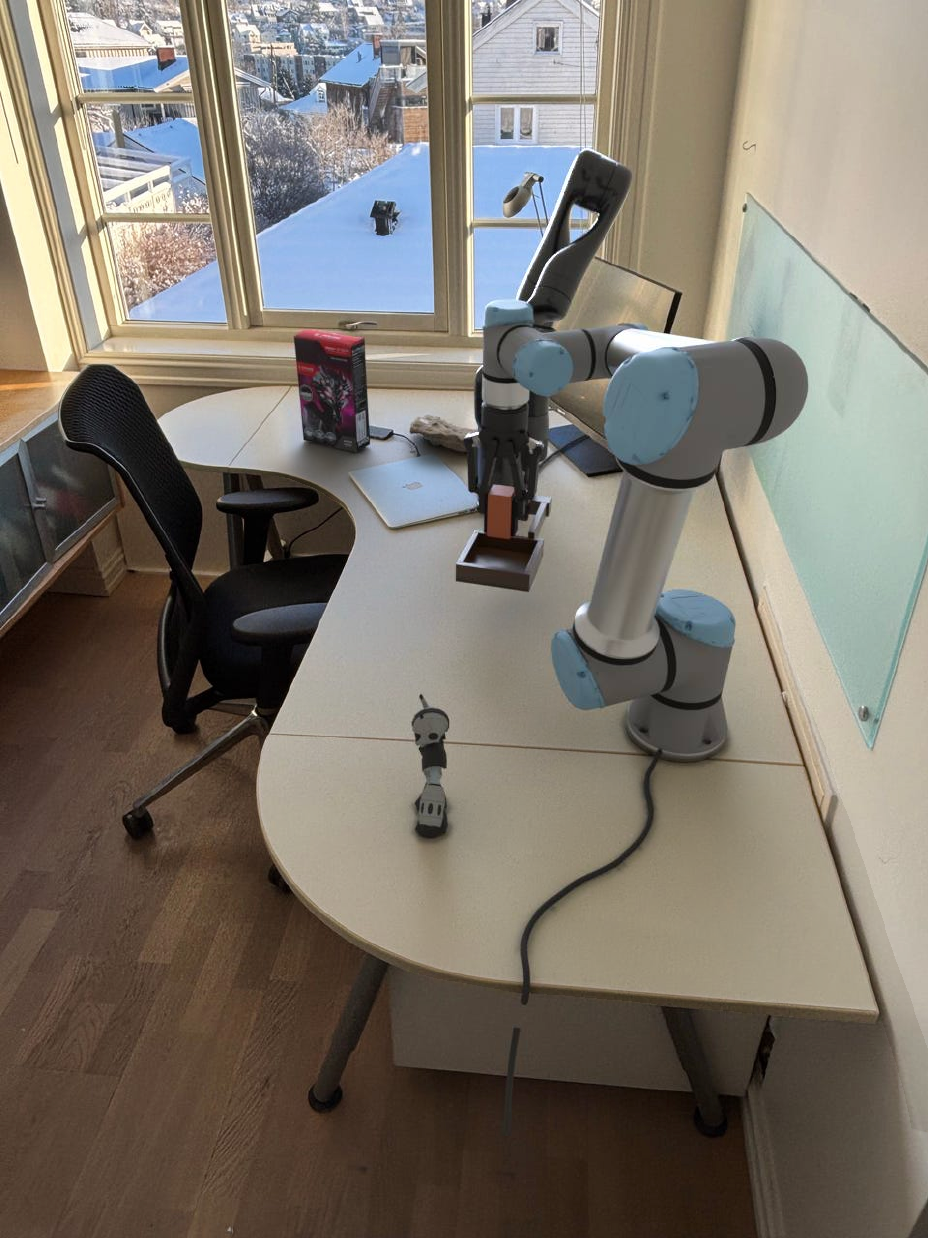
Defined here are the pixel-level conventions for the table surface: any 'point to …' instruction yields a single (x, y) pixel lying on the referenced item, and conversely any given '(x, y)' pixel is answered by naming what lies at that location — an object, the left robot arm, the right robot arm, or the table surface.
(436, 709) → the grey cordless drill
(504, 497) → the terracotta block
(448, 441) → the stone
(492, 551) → the walnut tray
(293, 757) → the table surface
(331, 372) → the graphics card box
